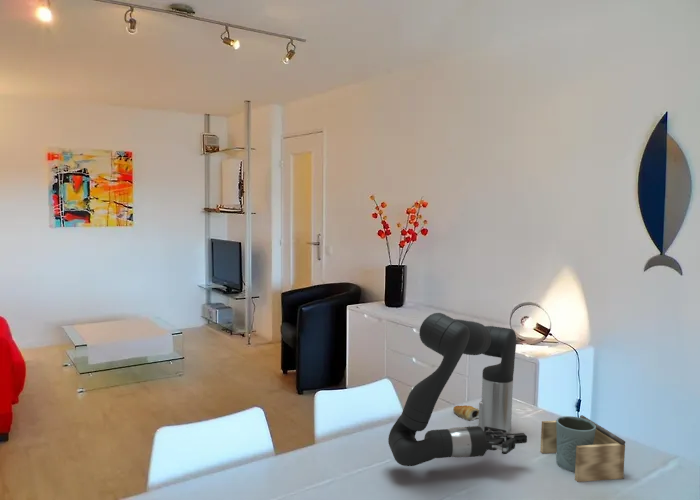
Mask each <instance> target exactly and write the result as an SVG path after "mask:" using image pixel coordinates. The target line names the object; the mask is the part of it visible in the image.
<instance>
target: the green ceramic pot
mask: <svg viewBox="0 0 700 500" xmlns="http://www.w3.org/2000/svg"><path fill="white" fill-rule="evenodd" d="M589 420H590V419H589ZM589 420H586V419H583V418H580V416H567V415H564V416H560V417H558V418H556V420H555V421H556V431H557V453H556V458H555V459H556V464H557V466H558V467H559V468H561V469H563V470H565V471H568V472H572V473H575V463H576V446H582V445H593V442H594V438H595V431H596V426H595V424H594V423H595V422H594V423H592V422H591V421H592V420H591V421H589Z"/></svg>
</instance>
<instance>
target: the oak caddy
mask: <svg viewBox="0 0 700 500" xmlns="http://www.w3.org/2000/svg"><path fill="white" fill-rule="evenodd" d="M579 418H583V419H586V420H589V421H591V422H592V423H594V424H595V426H596V431H595V438H594V442H593V445H582V446H576V463H575V472H574V481H576V482H577V483H581V482H583V483H584V482H594V481H596V482H597V481H607V480H610V481H611V480H620V479H624V475H625V473H624V472H625V454H626V453H625V452H626V441H625V440H624V439H622V438H621V437H619V436H617V435H616V434H614V433H612V432H611V431H609V430H607V429H606V428H605V427H602V426H601V425H599V424H598V423H596V422H594V421H593V420H591V419H590V418H588V417H586V416H585V415H582V414H581V415H580V416H579ZM540 429H541V432H540V451H539V452H540V453H541V454H557V431H556V420H542V421H541V428H540Z"/></svg>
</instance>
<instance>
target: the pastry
mask: <svg viewBox="0 0 700 500" xmlns="http://www.w3.org/2000/svg"><path fill="white" fill-rule="evenodd" d="M453 412H454V414H455V415H456V416H457V417H459V418H461V419H463V420H465V421H473V420H476V419H479V407H478V408H476V407H474V406H472V405H465V404H464V405H455V406H454V407H453Z"/></svg>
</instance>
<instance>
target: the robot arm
mask: <svg viewBox="0 0 700 500" xmlns="http://www.w3.org/2000/svg"><path fill="white" fill-rule="evenodd" d="M419 327H420V328H419V331H418V332H419V335H418V336H419V338H420V341H421V343H422V344H423V345H424V346H425V347H426V348H428V349H430V350H432V351H433V352H435V353H437V354H439V355H440V356H442V361H441V363H440V364H439V366H438V367H437V369H436V370H435V371H433V372H432V373H430V374H429V375H428V376H427V377H425V378H424V379H422V380H421V381H419V382H418V383H417V384H415V385H414V387H412V389H411V390H410V392H409V393H408V396H407V399H406V401H405V404H404V405H403V408H402V411H401V415H400V416H399V417H398V418H397V420H396V421H395V423H394V424H393V426H392V427H391V429H390V431H389V433H388V446H389V449H390V450H391V453H392V456H393V457H394V461H396V462H397V463H398V465H401V466H404V467H416V466H418V465H421V464H424V463H426V462H429V461H432V460H434V459H443V458H444V459H445V458H446V459H447V458H473V457H474V458H475V457H483V456H485V454H486V452H487V451H497V450H499V451H501V454H502V455H507V454H509V453H510V452H511V451H513V450H514V449H516V444H517V445H519V444H526V443H528V436H527V434H525V433H524V432H518V433H516V432H515V433H512V416H513V415H512V414H513V389H514V374H515V373H514V372H515V360H516V359H515V358H516V349H517V333H516V332H515V329H513V328H510V327H509V328H508V327H500V326H493V325H486V326H485V325H484V324H482V323H480V322H477V321H471V320H464V319H456V318H453V317H450V316H449V315H446V314H444V313H441V312H434V313H432V314H430V315H428V316H427V317H426V318H425V319H424V320H423V321H422V323H421V324H420V326H419ZM463 355H466V356H467V355H468V356H479V355H484V356H487V357H494V358H500V362H499V363H498V364H494V365H488V366H485V367H484V368H483V369H482V377H481V378H482V380H481V381H482V382H481V401H479V405H478V410H479V418H478V425H475V426H474V425H471V426H458V427H450V428H443V429H431V430H428V431H427V432H426V433H425V434H424V437H423V439H421V440H417V438H416V434H417V432H422V431H425V429H426V428H427V427H428V425H429V421H430V419H431V418H432V414H433V412H434V409H435V406H436V403H437V401H438V399H439V397H440V396H441V393H442V392H443V390H444V388H445V387H446V384H447V383H448V381H449V380H450V378H451V376H452V374H453V373H454V371H455V369H456V367H457V365H458V363H459V362H460V360H461V358H462V356H463Z"/></svg>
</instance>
